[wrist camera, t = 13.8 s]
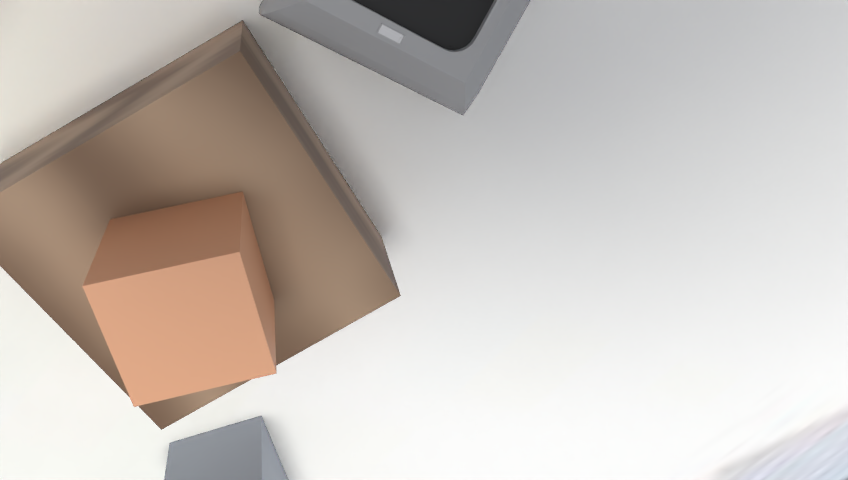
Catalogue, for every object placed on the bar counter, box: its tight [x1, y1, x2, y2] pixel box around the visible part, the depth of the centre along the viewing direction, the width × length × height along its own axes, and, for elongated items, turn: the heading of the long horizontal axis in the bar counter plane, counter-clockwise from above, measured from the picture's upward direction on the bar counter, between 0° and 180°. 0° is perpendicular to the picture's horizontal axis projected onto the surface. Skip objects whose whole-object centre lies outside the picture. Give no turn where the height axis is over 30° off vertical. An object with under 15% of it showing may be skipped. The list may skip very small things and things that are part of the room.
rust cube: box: [82, 191, 276, 407], centre depth 28 cm, size 5×5×5 cm
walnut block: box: [0, 20, 401, 430], centre depth 32 cm, size 12×12×6 cm
